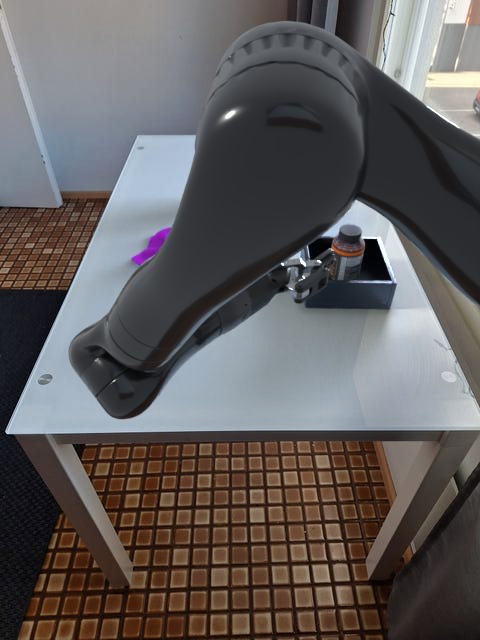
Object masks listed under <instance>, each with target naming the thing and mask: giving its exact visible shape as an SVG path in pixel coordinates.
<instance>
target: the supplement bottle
mask: <svg viewBox="0 0 480 640" xmlns="http://www.w3.org/2000/svg"><path fill="white" fill-rule="evenodd" d="M362 234H363V229H362V228H361V227H360V226H359V225H357V224H353V223H346V224H343V225H341V226H340V227H339V231H338V234H336V235H334V236H335V237H334V239H333V241H332V247H331V249H332V250H334V255H335V258H334V264H333V266H332V267H330V268H329V277H328V280H358V277H359V272H360V267H361V263H362V258H363V253H364V248H365V242H364V240H363V239H362V238H361V237H363V235H362Z"/></svg>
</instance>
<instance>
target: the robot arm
mask: <svg viewBox="0 0 480 640" xmlns="http://www.w3.org/2000/svg"><path fill="white" fill-rule="evenodd" d="M194 139H195V140H194V155H193V158H192V163H191V165H190V166H191V167H190V170H189V173H188V176H187V180H186V182H185V185H184V190H183V193H182V195H181V199H180V202H179V205H178V208H177V210H176V214H175V217H174V220H173V223H172V225H171V226H170V227H171V229H170V232H169V234H168V236H167V237H166V239H165V241H164V243H163V244H162V246H161V248H160V249H159V250H158V252H157V253H156V254H155V255H154V256H152V257H150V258H149V259H147V260H146V261H145V262H143V263H142V264H141V265H139V266H138V267H137V268H136V269H135V270H134V271H133V272H132V273H131V275H130V276H129V278H128V279H127V280H126V282H125V284H124V286H123V287H122V289H121V290H120V292H119V294H118V295H117V298H116V299H115V301H114V303H113V304H112V306H111V308H110V310H109V311H108V312H107V313H106V314H105V315H104V316H103V317H102V318H100V319H99V320H97V321H95V322H93V323H92V324H90V325H88V326H86V327H85V328H83V329H82V330H81V331H79V332H78V333H76V335H75V336H74V337H73V339H72V340H71V341H70V343H69V346H68V352H67V353H68V360H69V364H70V366H71V367H72V369H73V371H74V372H75V374H76V375H77V376H78V377H79V378H80V379H81V381H82V382H83V384H84V385H85V386H86V388H87V389H88V390H89V392H90V393H91V394H92V396H93V397H94V398H95V400H96V401H97V402H98V404H99V405H100V407H101V408H102V409H103V410H104V412H105V413H106V414H107V415H108V416H109V417H111V418H113V419H115V420H130V419H133V418H136V417H138V416H141V414H143V413H145V412H146V411H147V410H148V409H149V408H150V407H151V406H152V405H153V404H154V402H155V401H156V400H157V399H158V398H159V396H160V394H161V393H162V392H163V390H164V389H165V388H166V387H167V386H168V384H169V382H171V380H172V378H173V377H174V376H175V375H176V374H177V372H178V371H179V370H180V369H181V368H182V367H183V365H185V363H187V362H188V361H189V360H190V359H191V358H192V357H193V356H195V355H196V354H197V353H199V352H200V351H201V350H203V349H204V348H205V347H207V346H208V345H209V344H211V343H212V342H213V341H216V340H217V339H218V338H220V337H221V336H223V335H225V334H227V333H230V332H231V331H233V330H234V329H235V328H237V327H238V326H240V325H241V324H243V323H244V322H245V321H247V320H248V319H250V318H251V317H252V316H254V315H255V314H256V313H258V312H260V311H261V310H262V309H263V308H265V307H266V306H268V305H269V304H270V302H271V301H272V300H273V299H274V297H275V296H277V295H278V294H283V293H287V294H289V295H291V296H293V302H294V304H296V305H302V304H304V303H305V301H306V300H308V299H309V298H311V297H312V296H314V295H315V294H317V293H318V292H320V291H321V290H323V289H324V288H326V287H327V283H328V277H329V268H330V267H332V266H333V264H334V258H335V255H334V250H332V249H328V250H326V251H325V252H323V253H322V254H320V255H319V256H318V257H316V258H315V259H314V260H309V261H302V259H300V257H299V258H293V257H295V256H296V255H297V254H299V253H301V250H303V249H304V248H306V247H307V246H308V245H310V244H311V243H312V242H314V241H315V240H316V239H318V238H319V237H320V236H324V234H325V233H327V232H328V231H330V230H331V229H332V228H333V227H335V225H336V224H338V223H339V222H340V221H341V220H342V219H343V218H344V217H345V216H347V214H348V213H349V211H350V210H351V209H352V208H353V206H354V204H355V203H356V201H357V202H359V203H361V204H363V205H365V206H366V207H368V208H370V209H372V210H373V211H375V212H376V213H378V214H379V215H381V216H382V217H384V218H385V219H386V220H388V221H389V223H391V224H392V225H393V226H394V227H396V229H398V230H399V231H400V233H402V234H403V236H404V237H405V238H407V240H408V241H410V242H411V244H412V245H413V246H414V247H415V248H416V249H417V250H418V251H419V252H420V253H421V254H422V255H423V256H424V258H425V259H427V261H428V262H429V263H430V264H431V265H432V266H433V267H434V268H435V269H436V270H437V272H438V273H440V275H441V276H442V277H444V278H445V280H446V281H447V282H448V283H449V284H450V285H451V286H452V287H453V288H454V289H455V290H457V291H458V292H459V293H460V294H461V295H463V296H464V297H465V298H466V299H467V300H468V301H470V302H471V303H472V304H474V305H475V306H476V307H478V308H480V138H479V137H477V136H475V135H474V134H471V133H470V132H468V131H466V130H464V129H463V128H461V127H460V126H458V125H456V124H455V123H453V122H451V121H449V119H447V118H446V117H444V116H442V115H441V114H440V113H438V112H436V111H435V110H434V109H433V108H431V107H429V106H428V105H426V104H425V103H424V102H423V101H422V100H420V99H419V98H418V97H416V96H415V95H414V94H413V93H411V92H410V91H409V90H407V88H405V87H404V86H402V85H401V84H400V83H398V82H397V81H396V80H394V79H393V78H392V77H390V75H388V74H387V73H386V72H384V71H383V70H382V69H381V68H379V67H378V66H377V65H376V64H374V63H373V62H372V61H370V60H369V59H368V58H367V57H365V56H364V55H362V54H361V53H360V52H359V51H357V50H356V49H355V48H354V47H352V46H351V45H349V44H348V43H347V42H346V41H344V40H343V39H341V38H340V37H338V36H337V35H335V34H333V33H331V32H330V31H328V30H326V29H324V28H322V27H319V26H316V25H314V24H313V25H312V24H309V23H307V22H301V21H292V20H281V21H280V20H279V21H274V22H273V21H271V22H266V23H262V24H259V25H257V26H255V27H252V28H250V29H249V30H247V31H245V32H244V33H243V34H241V35H240V36H238V37H237V38H236V39H235V40H234V41H233V42H232V43H231V44H230V45H229V47H228V48H227V50H226V51H225V52H224V54H223V55H222V57H221V60H220V61H219V64H218V65H217V68H216V70H215V73H214V76H213V79H212V82H211V84H210V87H209V90H208V95H207V96H206V100H205V103H204V105H203V109H202V113H201V115H200V117H199V120H198V124H197V127H196V133H195V138H194ZM294 268H295V272H294V276H291V273H292V269H294ZM305 269H311V272H310V273H303V272H304V270H305Z"/></svg>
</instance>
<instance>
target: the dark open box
mask: <svg viewBox="0 0 480 640" xmlns="http://www.w3.org/2000/svg"><path fill="white" fill-rule="evenodd" d="M335 236H336V235H334V236H333V235H322V236H320V237H319V238H318V239H316V240H315V241H314V242H312V243H311V244H310V245H308V246H307V247H306V248H304V249H303V250H301V251H300V256H299V258H300V259H302V261H309V260H314V259H315V258H316V257H318V256H319V255H320V254H322V253H323V252H325V251H326V250H328V249H331V247H332V241H333V239H334V237H335ZM361 238H362V239H363V240H364V242H365V248H364V253H363V258H362V263H361V267H360V272H359V277H358V280H328V283H327V287H326V288H324V289H323V290H321V291H320V292H318V293H317V294H315V295H314V296H312V297H311V298H309V299H308V300H306V301H305V302H304V307H305V308H306V309H338V310H339V309H340V310H341V309H343V310H344V309H345V310H348V309H350V310H391V308H392V305H393V302H394V301H393V300H394V296H395V292H396V289H397V285H398V282H397V279H396V276H395V273H394V271H393V268H392V266H391V263H390V260H389V258H388V255H387V251H386V249H385V246H384V244H383V241H382V238H381V236H361ZM310 272H311V269H305V270H304V272H303V273H310Z"/></svg>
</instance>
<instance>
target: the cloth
mask: <svg viewBox="0 0 480 640" xmlns="http://www.w3.org/2000/svg"><path fill="white" fill-rule="evenodd" d="M171 227H172V226H169V227H166V228H162V229H161V230H159V231H157V232H156V233H155V234H153V235H151V236H150V237H149V239H148V243H147V248H145V249H144V250H142V251H140V252H139V253H137V254H136V255H134V256H132V257H131V258H130V261H132V262H134V263H135V264H137V265H139V266H140V265H141V264H142V263H143V262H145V261H146V260H147V259H149V258H150V257H152V256H154V255H155V254H156V253H157V252H158V250H159V249H160V248H161V246H162V244H163V243H164V241H165V239H166V237H167V236H168V234H169V232H170V229H171Z"/></svg>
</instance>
